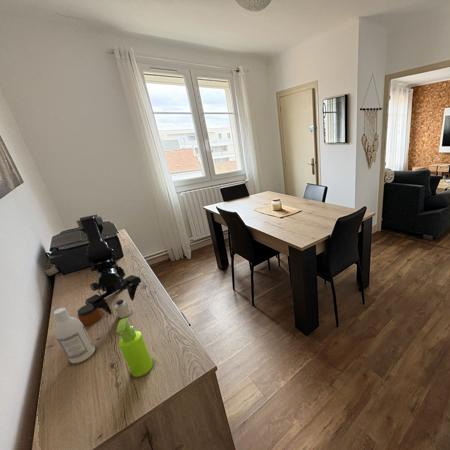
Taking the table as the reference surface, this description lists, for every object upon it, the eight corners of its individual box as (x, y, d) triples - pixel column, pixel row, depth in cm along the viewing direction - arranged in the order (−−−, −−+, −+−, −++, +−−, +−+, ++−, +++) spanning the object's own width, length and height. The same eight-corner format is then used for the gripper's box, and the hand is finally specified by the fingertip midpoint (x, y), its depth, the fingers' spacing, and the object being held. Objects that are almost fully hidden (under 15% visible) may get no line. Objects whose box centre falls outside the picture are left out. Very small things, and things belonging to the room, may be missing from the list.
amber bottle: (96, 312, 106) (91, 301, 104) (105, 315, 103) (100, 304, 101) (78, 322, 100) (72, 311, 98) (87, 327, 98) (81, 315, 96)
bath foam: (81, 347, 88) (57, 304, 81) (100, 346, 88) (78, 302, 81) (64, 364, 82) (37, 319, 74) (85, 363, 82) (60, 317, 74)
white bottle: (126, 309, 106) (121, 297, 104) (133, 312, 105) (128, 299, 102) (116, 316, 103) (110, 303, 100) (123, 319, 101) (117, 305, 98)
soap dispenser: (129, 382, 74) (106, 334, 67) (134, 364, 80) (113, 317, 73) (151, 374, 76) (131, 326, 69) (153, 357, 82) (135, 311, 75)
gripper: (120, 261, 107) (131, 290, 113) (70, 285, 92) (86, 317, 97) (136, 265, 103) (147, 295, 109) (86, 291, 87) (102, 324, 93)
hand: (121, 306), depth 102 cm, fingers open, 9 cm apart
